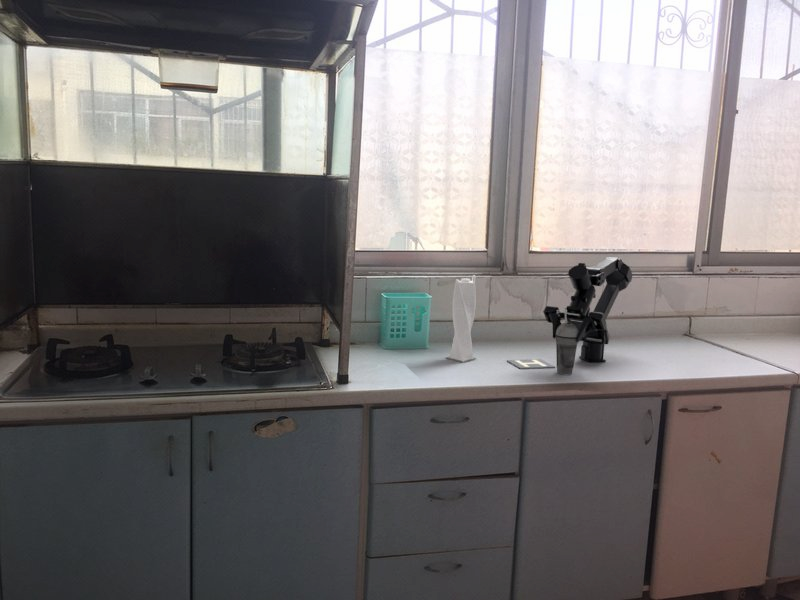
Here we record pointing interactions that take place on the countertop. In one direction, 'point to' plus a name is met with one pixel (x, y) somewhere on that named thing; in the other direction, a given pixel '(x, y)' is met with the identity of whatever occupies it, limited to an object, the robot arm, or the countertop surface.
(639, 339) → the countertop surface
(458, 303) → the skyscraper
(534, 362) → the letter card
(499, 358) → the countertop surface
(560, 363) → the beverage cup
